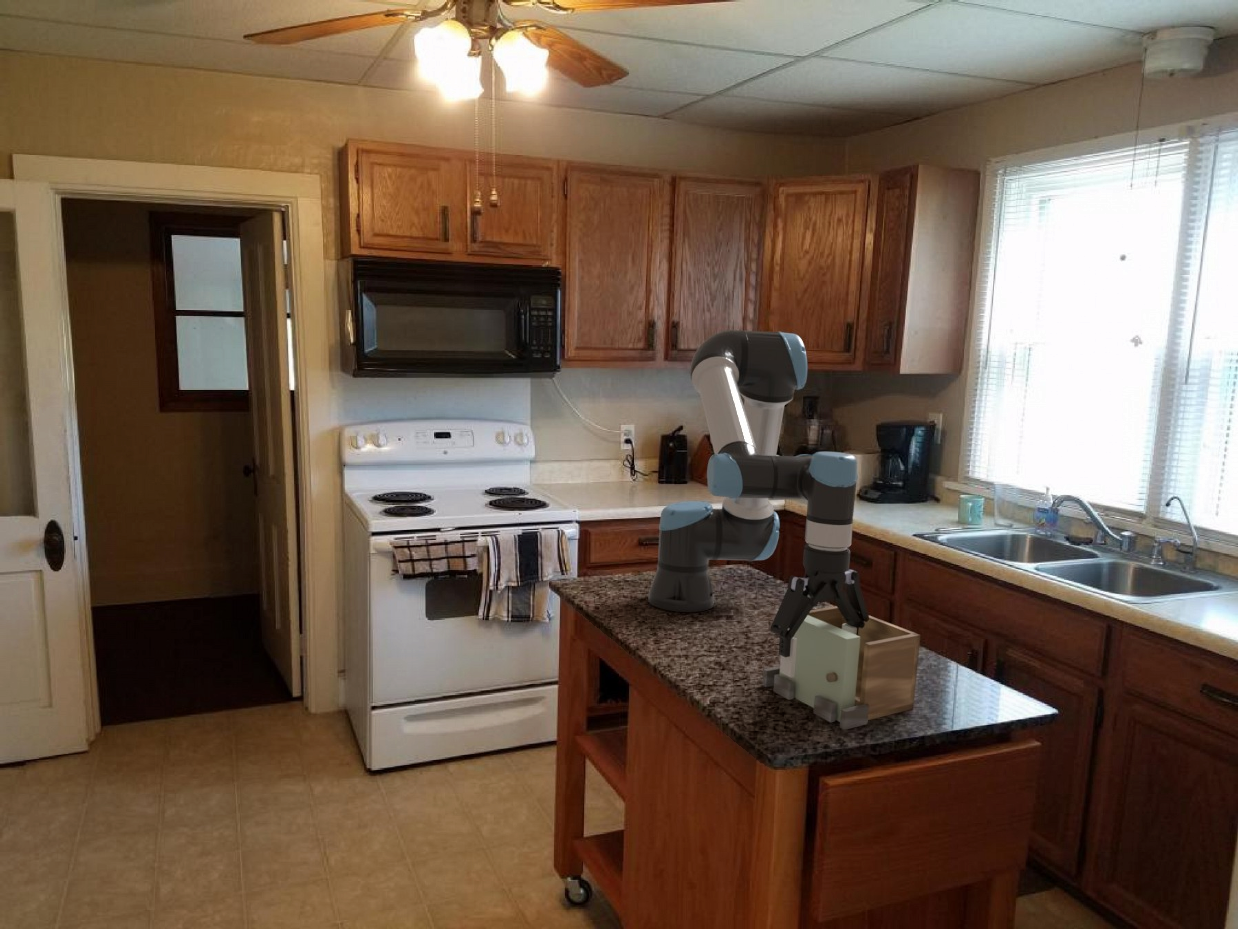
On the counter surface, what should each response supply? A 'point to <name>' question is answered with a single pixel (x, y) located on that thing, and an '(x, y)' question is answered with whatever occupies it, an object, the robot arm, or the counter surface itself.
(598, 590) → the counter surface
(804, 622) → the door
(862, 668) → the carcass
